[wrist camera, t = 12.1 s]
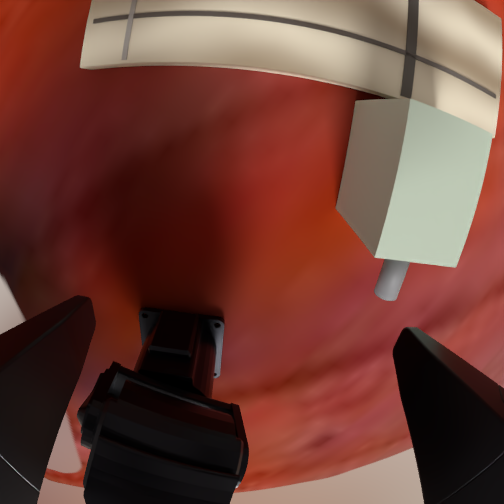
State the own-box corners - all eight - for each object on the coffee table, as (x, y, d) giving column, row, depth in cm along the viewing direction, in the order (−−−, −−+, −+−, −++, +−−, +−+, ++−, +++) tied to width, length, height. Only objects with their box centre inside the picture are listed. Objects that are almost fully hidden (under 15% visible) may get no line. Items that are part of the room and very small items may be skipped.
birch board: (481, 135, 16) (495, 138, 15) (91, 69, 15) (78, 67, 13) (489, 21, 12) (502, 18, 11) (119, -55, 10) (110, -64, 9)
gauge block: (389, 258, 21) (434, 315, 14) (325, 250, 20) (355, 312, 14) (423, 121, 16) (492, 134, 10) (355, 100, 16) (410, 98, 10)
